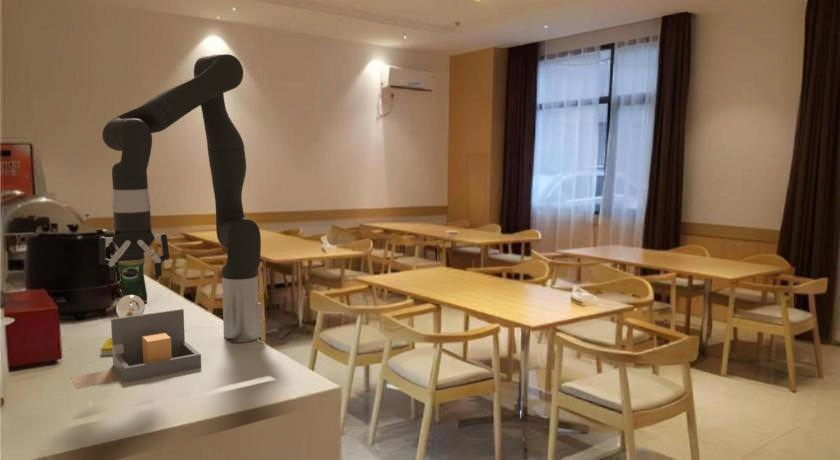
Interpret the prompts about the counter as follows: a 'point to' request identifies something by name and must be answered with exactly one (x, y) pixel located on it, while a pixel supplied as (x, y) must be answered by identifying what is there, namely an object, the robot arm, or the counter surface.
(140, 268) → the coffee jar
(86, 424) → the counter surface
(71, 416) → the counter surface
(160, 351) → the block
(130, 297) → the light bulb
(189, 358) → the case
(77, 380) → the pad
